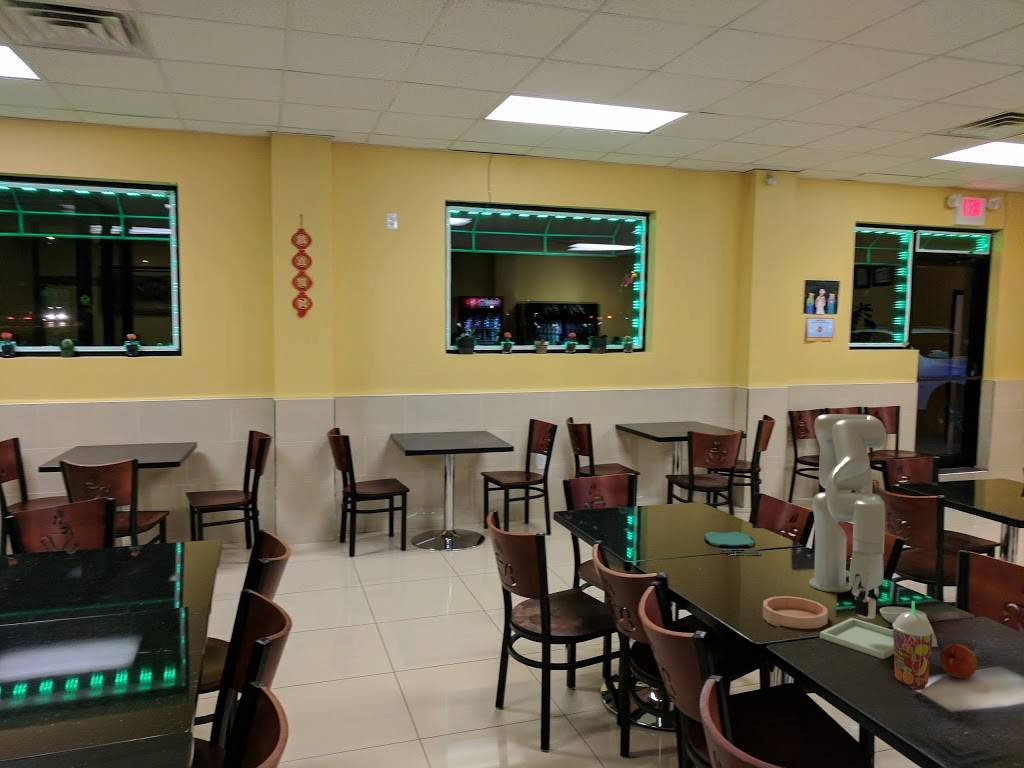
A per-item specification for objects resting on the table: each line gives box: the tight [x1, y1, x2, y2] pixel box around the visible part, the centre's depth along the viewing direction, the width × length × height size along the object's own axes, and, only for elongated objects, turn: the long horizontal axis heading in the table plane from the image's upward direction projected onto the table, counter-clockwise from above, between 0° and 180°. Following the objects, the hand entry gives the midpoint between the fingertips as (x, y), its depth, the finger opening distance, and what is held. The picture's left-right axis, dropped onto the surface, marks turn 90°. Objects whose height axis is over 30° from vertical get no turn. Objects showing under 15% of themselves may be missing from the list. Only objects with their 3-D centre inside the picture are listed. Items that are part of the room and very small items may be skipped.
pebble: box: [856, 597, 877, 620], centre depth 192 cm, size 4×4×4 cm
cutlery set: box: [703, 531, 762, 557], centre depth 288 cm, size 20×30×2 cm, turn 175°
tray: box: [819, 617, 894, 660], centre depth 192 cm, size 17×17×2 cm
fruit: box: [939, 643, 978, 680], centre depth 172 cm, size 8×8×8 cm
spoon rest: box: [879, 606, 939, 648], centre depth 199 cm, size 24×12×7 cm, turn 172°
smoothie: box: [892, 600, 934, 691], centre depth 168 cm, size 8×8×20 cm
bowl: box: [762, 595, 829, 630], centre depth 208 cm, size 17×17×4 cm
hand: (866, 611), depth 192 cm, fingers closed on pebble, 4 cm apart
